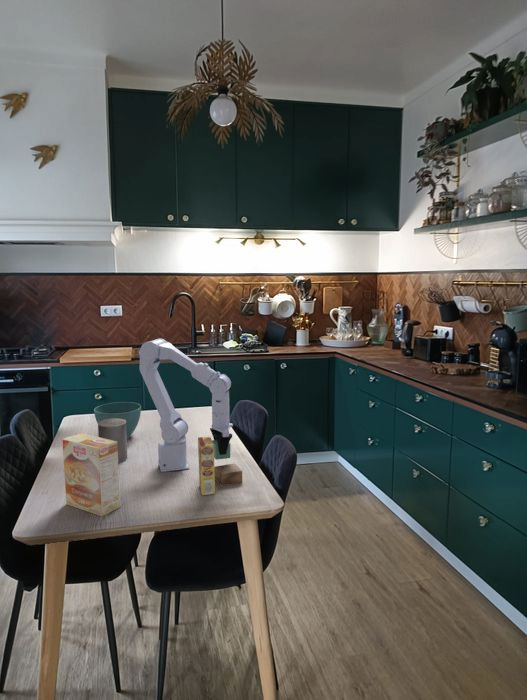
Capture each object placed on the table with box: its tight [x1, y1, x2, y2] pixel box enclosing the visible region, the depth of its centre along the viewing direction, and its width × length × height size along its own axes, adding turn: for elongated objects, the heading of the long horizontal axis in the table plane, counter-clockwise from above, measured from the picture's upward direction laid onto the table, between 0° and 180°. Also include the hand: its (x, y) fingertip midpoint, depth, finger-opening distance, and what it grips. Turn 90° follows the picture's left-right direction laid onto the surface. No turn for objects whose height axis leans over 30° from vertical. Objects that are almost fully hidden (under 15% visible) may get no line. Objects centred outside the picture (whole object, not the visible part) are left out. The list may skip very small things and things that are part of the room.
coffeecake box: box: [61, 432, 121, 517], centre depth 144 cm, size 15×7×20 cm, turn 58°
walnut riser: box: [214, 462, 243, 487], centre depth 164 cm, size 7×7×4 cm
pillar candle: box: [97, 418, 128, 464], centre depth 182 cm, size 10×10×15 cm
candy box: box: [197, 436, 216, 496], centre depth 156 cm, size 9×4×15 cm, turn 13°
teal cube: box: [211, 439, 231, 461], centre depth 171 cm, size 5×5×5 cm
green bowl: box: [93, 401, 142, 439], centre depth 207 cm, size 18×18×12 cm
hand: (221, 451), depth 171 cm, fingers closed on teal cube, 5 cm apart
